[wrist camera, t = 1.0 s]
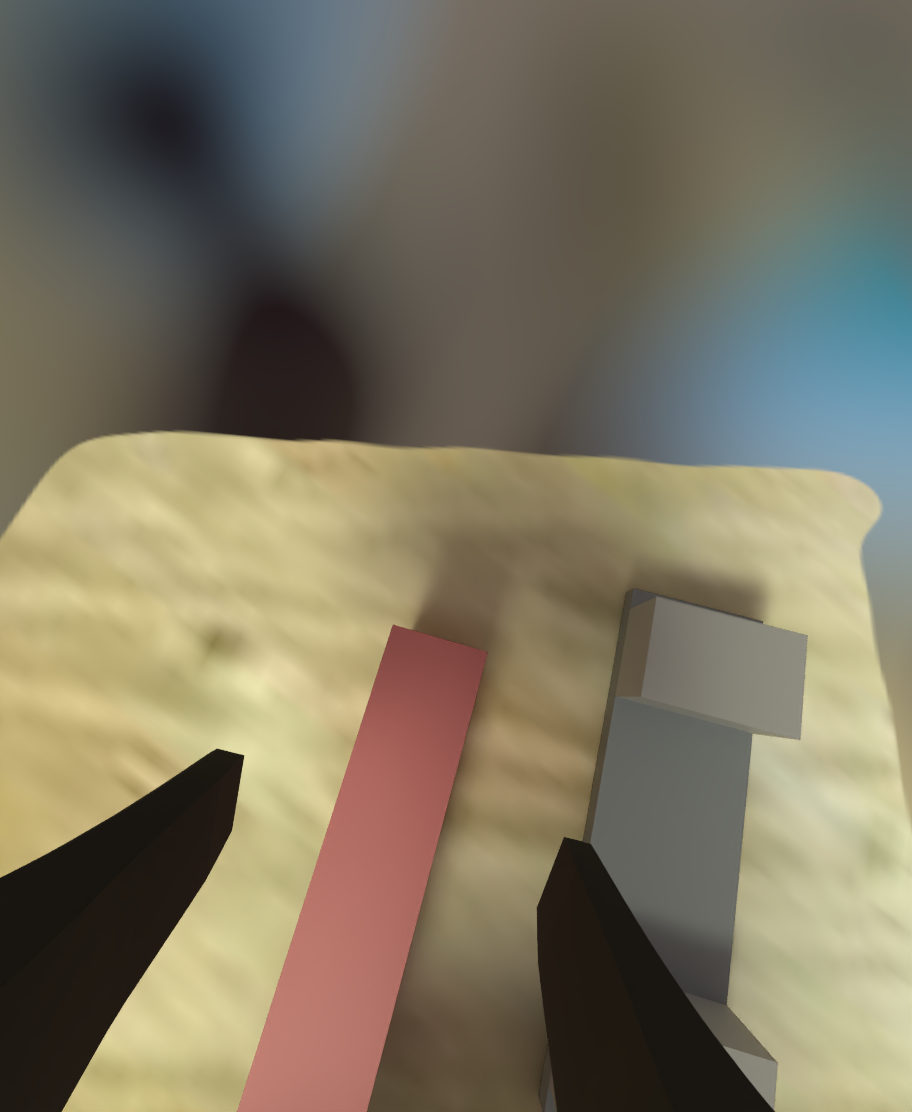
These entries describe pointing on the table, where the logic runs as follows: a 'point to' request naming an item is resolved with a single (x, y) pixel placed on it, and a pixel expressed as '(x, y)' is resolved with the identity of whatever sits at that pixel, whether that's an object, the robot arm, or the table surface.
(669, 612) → the display rack
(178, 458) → the table surface
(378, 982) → the frame bar
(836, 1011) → the table surface
